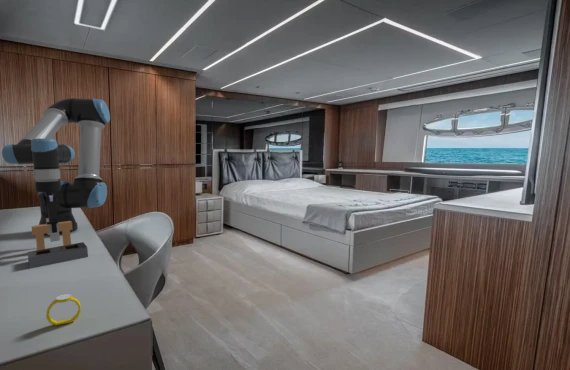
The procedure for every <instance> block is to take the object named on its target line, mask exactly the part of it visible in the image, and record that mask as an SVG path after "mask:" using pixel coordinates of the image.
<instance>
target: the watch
mask: <svg viewBox="0 0 570 370" xmlns="http://www.w3.org/2000/svg"><path fill="white" fill-rule="evenodd" d="M69 301H71V302H74V303H75V305H77V308H78V309H77V312H76V314H75V315H74V316H72V317H71V318H68V319H62V320H58V321H57V320H56V319H53V318H52V317H51V315H50V310H51V309H52V307H53V306H55V305H56V304H57V303H59V304H63V303H66V302H69ZM81 307H82V306H81V302H80V301H79V299H78V298H76V297H74V296H72V294H70V293H65V294H61V295H58V296H56V297H55V299H54V300H53V301H52V302H51V303H50V304H49V306H48V307H47V310H46V317H45V318H46V320H47V321H48V322H49V324H51V325H53V326H59V325H64V324H71V323H73V322H74V321H75V320H77V319H78V318H79V316H80V314H81V310H82V308H81Z"/></svg>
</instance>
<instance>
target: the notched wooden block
mask: <svg viewBox="0 0 570 370" xmlns="http://www.w3.org/2000/svg"><path fill="white" fill-rule="evenodd" d="M30 226H31V234H32V236H35V243H36V250H41V249H46V245H45V235H44V234H47V233H50V232H49V224H48V225H47V224H43V225H39V224H37V225H30ZM58 226H59V232H60V231H62V233H61V234H62V235H61V236H62V243H63V245H62V246H64V245H70V244H72V239H71V231H70V230H73V228H72V222H71V221H65V222H58Z"/></svg>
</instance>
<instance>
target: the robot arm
mask: <svg viewBox="0 0 570 370" xmlns="http://www.w3.org/2000/svg"><path fill="white" fill-rule="evenodd" d="M110 121H111V114H110V109H109V107H108V105H107V103H106V101H104V100H103V99H100V98H69V97H68V98H65V99H61V100H59V101H57V102H54V103H53V104H51V105H50V106H48V107H47V108H46V109H45V110H44V111H43V116H42V117H41V119H39V121H37V122H36V123H35V124H34V126H33V127H32V128H31V129H30V130H29V131H28V132H26V134H25V135H24V136H23V137H22V138H21V139H20V140H19V141H18V142H17V143H16V144H13V143H12V144H6V145H4V146H3V147H2V150H1V155H2V159H3V160H4V161H5V163H7V164H10V165H33V172H31V175H32V176H33V175H34V181H35V183H34V186H35V192H36V193H37V192H38V198H39V199H38V200H39V209H40V219H39V223H38V225H43V224H47V225H48V224H49V232H50V233H47V234H44V236H49V240H50V243H52V242H59V241H60V240H61V239H60V238H61V237H60V234H62V231H60V232H59V226H58V222H65V221H71V222H72V228H73V230H70V232H74V231H76V230H77V229H78V228H79V227H78V225H79V224H78V222H77V221H76V218H75V216H74V214H73V210H72V209H80V208H81V209H82V208H83V209H85V208H86V209H87V208H90V209H92V208H99V207H101V206H103V205H104V203H106V200H107V197H108V196H107V195H108V186H107V184H106V183H105V182H104V181H103V178H101V177H100V170H101V169H100V168H101V166H100V165H101V146H102V145H101V144H102V143H101V142H102V130H104V129H105V128H106V124H109V123H110ZM72 123H73V124H74V123H76V125H77V126H78V127H79V128H80V133H79V135H80V136H79V149H78V150H79V153H78V169H77V170H78V171H77V175H76V177H73V178H74V179H73V183H71V182H70V180H62V181H61V180H60V179H61V170H60V164H67V163H70V162H72V161H73V160H74V159H75V157H76V153H75V150H74V149H73V148H72V147H71V146H70V145H67V144H61V143H60V144H58V142H57V140H56V139H55V138H53V137H54V136H55V135H56V133H58V131H59V130H60V129H61V128H62V127H65V126H67V125H68V124H72Z"/></svg>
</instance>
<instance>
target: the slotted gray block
mask: <svg viewBox="0 0 570 370" xmlns="http://www.w3.org/2000/svg"><path fill="white" fill-rule="evenodd" d="M88 257H89V252H88V246H87V244H85V242H82V241H81V242H77V243H71V244H70V245H64V246H63V245H58V246H54V247H47V248H45V249H41V250H37V249H36V250H31V251H27V259H28V260H27V261H28V267H29V269H34V268H40V267H44V266H49V265H54V264H58V263H59V264H60V263H64V262H67V261H74V260H77V259H83V258H88Z"/></svg>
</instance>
